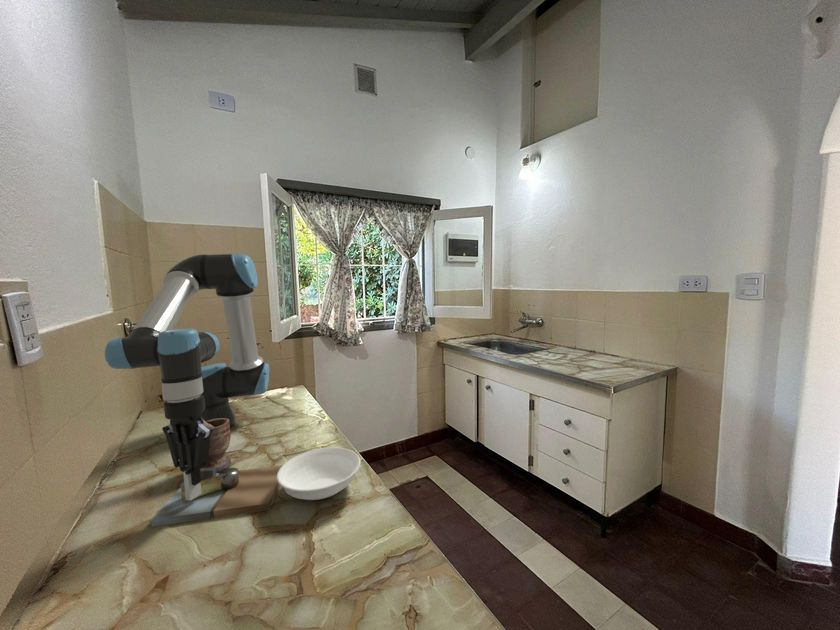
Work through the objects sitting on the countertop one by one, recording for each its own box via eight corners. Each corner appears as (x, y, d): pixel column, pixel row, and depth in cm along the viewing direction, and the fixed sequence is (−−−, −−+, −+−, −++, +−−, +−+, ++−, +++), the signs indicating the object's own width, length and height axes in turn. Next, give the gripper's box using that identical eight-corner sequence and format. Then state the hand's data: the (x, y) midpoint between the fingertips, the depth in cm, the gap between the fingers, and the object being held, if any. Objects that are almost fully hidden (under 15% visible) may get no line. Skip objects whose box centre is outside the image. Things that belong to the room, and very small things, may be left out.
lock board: (191, 482, 89) (190, 465, 88) (286, 470, 93) (284, 454, 92) (151, 526, 72) (149, 506, 71) (269, 510, 76) (267, 490, 76)
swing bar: (237, 477, 87) (236, 463, 86) (240, 484, 83) (239, 471, 83) (182, 494, 80) (180, 480, 79) (181, 504, 76) (180, 489, 76)
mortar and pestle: (186, 483, 88) (178, 410, 86) (184, 470, 95) (177, 402, 93) (235, 468, 95) (229, 400, 93) (230, 456, 102) (225, 393, 100)
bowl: (317, 530, 69) (315, 501, 68) (260, 500, 80) (258, 475, 79) (377, 481, 86) (376, 457, 85) (324, 462, 96) (323, 441, 96)
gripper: (220, 394, 77) (229, 491, 78) (180, 390, 81) (189, 483, 83) (189, 405, 70) (199, 511, 71) (146, 400, 74) (157, 502, 75)
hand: (193, 496), depth 77 cm, fingers closed
